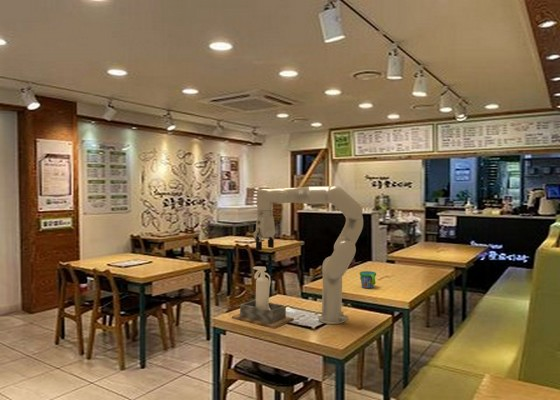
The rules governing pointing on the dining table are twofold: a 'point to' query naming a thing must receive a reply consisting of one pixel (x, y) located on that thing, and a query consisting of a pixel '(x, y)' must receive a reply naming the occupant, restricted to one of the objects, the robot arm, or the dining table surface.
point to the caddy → (263, 314)
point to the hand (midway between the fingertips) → (264, 248)
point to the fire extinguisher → (262, 288)
